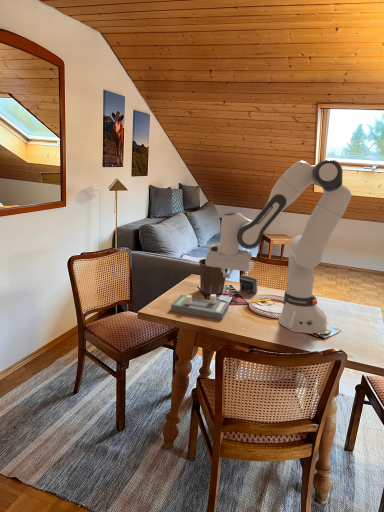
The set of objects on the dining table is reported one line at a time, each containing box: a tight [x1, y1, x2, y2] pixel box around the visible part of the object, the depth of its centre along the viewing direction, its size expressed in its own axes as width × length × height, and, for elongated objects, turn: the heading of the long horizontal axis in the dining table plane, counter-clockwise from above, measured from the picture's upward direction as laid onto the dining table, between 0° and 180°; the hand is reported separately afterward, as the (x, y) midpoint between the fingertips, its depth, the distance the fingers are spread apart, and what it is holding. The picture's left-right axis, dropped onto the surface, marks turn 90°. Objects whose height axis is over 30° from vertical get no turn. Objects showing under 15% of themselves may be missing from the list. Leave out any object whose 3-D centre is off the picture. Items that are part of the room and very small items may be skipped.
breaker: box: [185, 294, 193, 305], centre depth 181 cm, size 2×3×4 cm
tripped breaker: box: [209, 294, 217, 304], centre depth 184 cm, size 2×3×4 cm
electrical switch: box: [239, 273, 258, 295], centre depth 210 cm, size 9×5×9 cm, turn 57°
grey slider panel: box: [170, 294, 230, 321], centre depth 183 cm, size 24×14×3 cm, turn 74°
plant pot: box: [198, 258, 229, 296], centre depth 207 cm, size 16×16×16 cm
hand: (226, 277), depth 179 cm, fingers closed
